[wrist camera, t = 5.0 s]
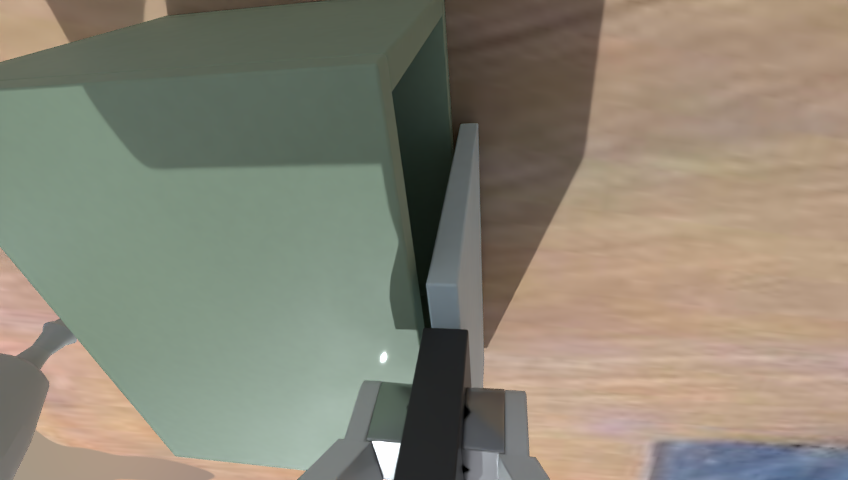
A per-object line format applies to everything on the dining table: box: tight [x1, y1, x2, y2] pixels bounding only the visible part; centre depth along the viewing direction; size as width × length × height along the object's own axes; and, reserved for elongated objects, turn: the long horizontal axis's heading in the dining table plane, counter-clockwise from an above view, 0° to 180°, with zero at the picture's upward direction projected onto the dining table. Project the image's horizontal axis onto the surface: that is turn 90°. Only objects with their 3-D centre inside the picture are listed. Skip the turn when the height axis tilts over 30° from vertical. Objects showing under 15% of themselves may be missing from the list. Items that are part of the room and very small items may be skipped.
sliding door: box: [393, 123, 484, 480], centre depth 18 cm, size 1×16×15 cm, turn 6°
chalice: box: [0, 319, 77, 480], centre depth 20 cm, size 7×7×18 cm
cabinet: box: [0, 0, 454, 471], centre depth 18 cm, size 12×16×11 cm
